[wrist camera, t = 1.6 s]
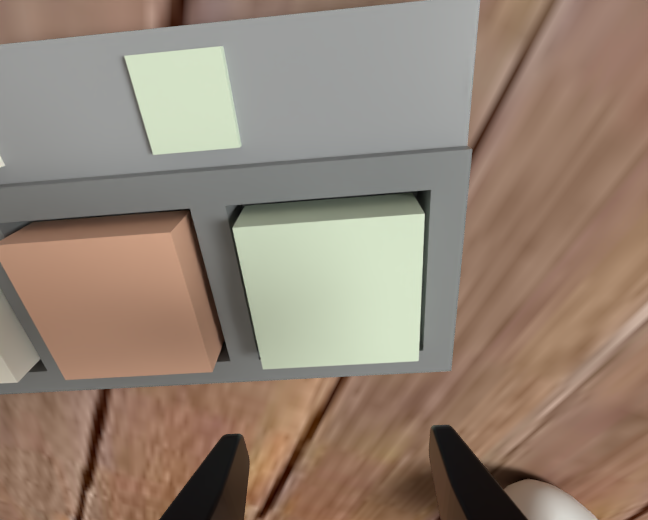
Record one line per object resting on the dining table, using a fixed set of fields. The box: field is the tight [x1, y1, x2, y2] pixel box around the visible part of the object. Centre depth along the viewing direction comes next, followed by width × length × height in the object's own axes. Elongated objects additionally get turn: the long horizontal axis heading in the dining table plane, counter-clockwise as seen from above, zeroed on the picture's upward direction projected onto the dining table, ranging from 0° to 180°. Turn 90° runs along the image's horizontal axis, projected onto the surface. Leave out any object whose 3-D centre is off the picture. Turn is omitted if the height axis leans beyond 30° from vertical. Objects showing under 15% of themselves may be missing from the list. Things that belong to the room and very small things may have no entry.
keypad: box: [0, 0, 480, 394], centre depth 15 cm, size 13×25×4 cm, turn 95°
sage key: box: [233, 193, 425, 369], centre depth 14 cm, size 6×6×2 cm
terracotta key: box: [0, 210, 225, 380], centre depth 15 cm, size 6×6×2 cm
